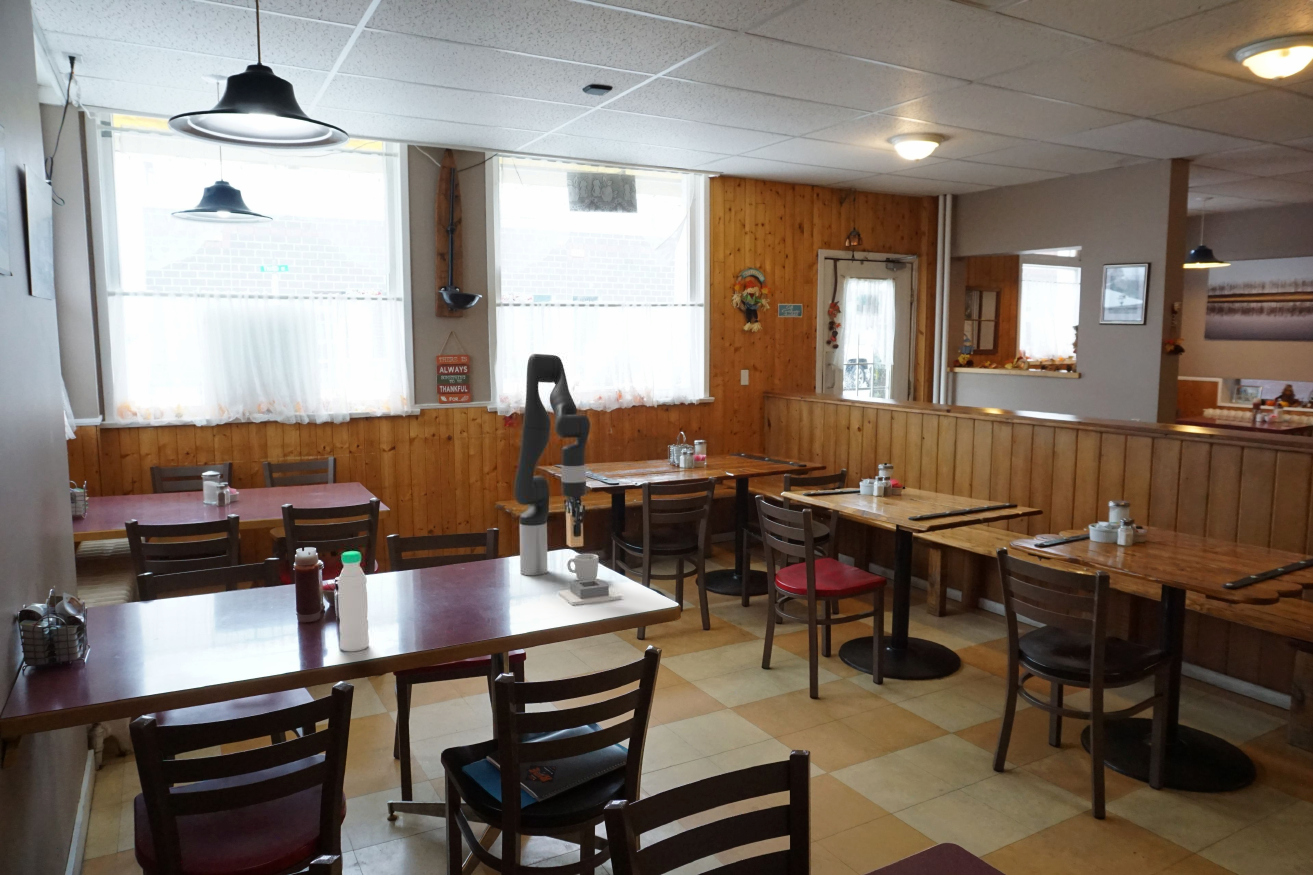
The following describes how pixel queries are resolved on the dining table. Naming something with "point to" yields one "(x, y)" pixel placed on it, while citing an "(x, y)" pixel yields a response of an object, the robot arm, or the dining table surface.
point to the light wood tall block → (571, 539)
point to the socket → (588, 592)
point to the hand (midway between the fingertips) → (574, 534)
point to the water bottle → (352, 604)
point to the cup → (585, 566)
